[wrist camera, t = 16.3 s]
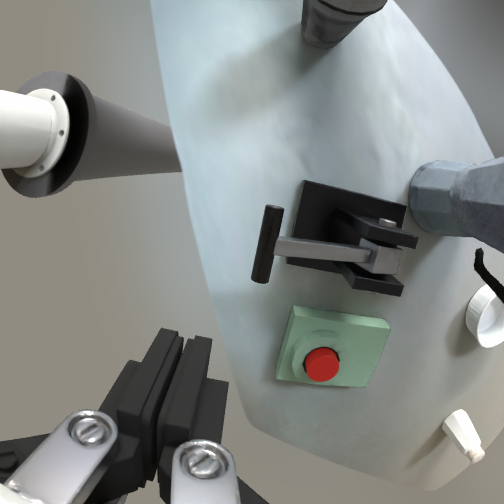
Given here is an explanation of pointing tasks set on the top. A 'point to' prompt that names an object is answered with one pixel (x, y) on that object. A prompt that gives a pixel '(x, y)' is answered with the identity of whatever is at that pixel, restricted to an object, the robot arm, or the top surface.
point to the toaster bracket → (349, 231)
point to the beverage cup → (334, 19)
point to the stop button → (321, 364)
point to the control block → (332, 345)
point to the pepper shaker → (463, 435)
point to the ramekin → (486, 317)
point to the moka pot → (463, 205)
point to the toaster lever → (318, 249)
